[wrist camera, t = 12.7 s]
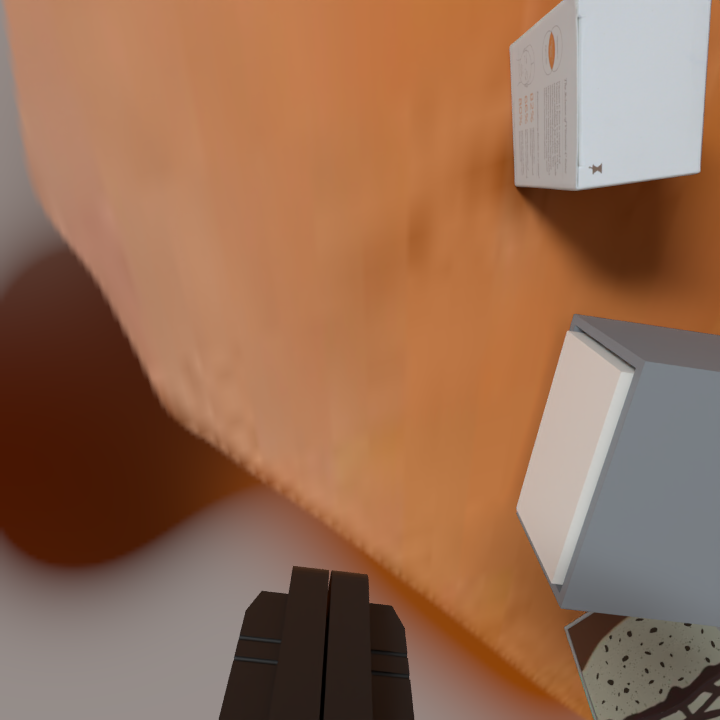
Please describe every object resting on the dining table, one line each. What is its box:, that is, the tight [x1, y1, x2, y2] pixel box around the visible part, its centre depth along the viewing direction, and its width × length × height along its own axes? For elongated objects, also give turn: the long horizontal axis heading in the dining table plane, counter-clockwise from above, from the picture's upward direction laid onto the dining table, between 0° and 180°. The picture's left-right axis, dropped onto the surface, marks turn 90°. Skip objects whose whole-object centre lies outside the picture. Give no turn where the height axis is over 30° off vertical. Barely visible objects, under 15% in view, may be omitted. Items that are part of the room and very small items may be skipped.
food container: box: [564, 612, 720, 720], centre depth 41 cm, size 12×6×10 cm, turn 132°
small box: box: [510, 0, 712, 191], centre depth 28 cm, size 8×6×10 cm
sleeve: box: [516, 314, 720, 627], centre depth 35 cm, size 14×16×10 cm
